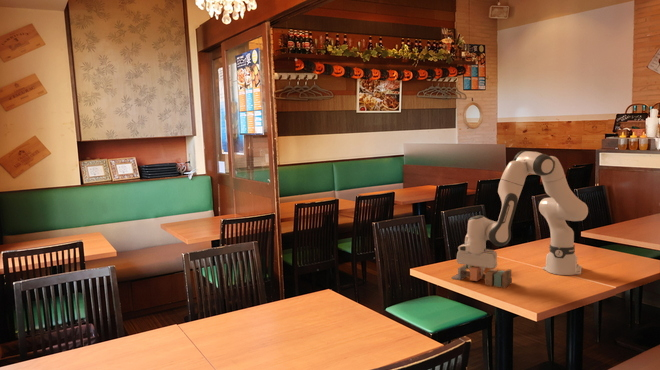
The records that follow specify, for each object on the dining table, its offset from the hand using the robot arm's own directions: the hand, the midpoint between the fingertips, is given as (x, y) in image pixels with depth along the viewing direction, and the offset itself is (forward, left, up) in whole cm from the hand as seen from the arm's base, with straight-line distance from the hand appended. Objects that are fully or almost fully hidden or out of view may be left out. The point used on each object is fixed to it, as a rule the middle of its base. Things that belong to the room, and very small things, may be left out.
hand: (476, 274), depth 257 cm
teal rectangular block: (0, +12, -3) cm, 13 cm away
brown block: (0, +8, -3) cm, 8 cm away
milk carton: (-22, -11, -3) cm, 25 cm away
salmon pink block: (0, 0, -2) cm, 2 cm away
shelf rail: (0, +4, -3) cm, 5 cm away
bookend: (0, -9, -3) cm, 10 cm away
